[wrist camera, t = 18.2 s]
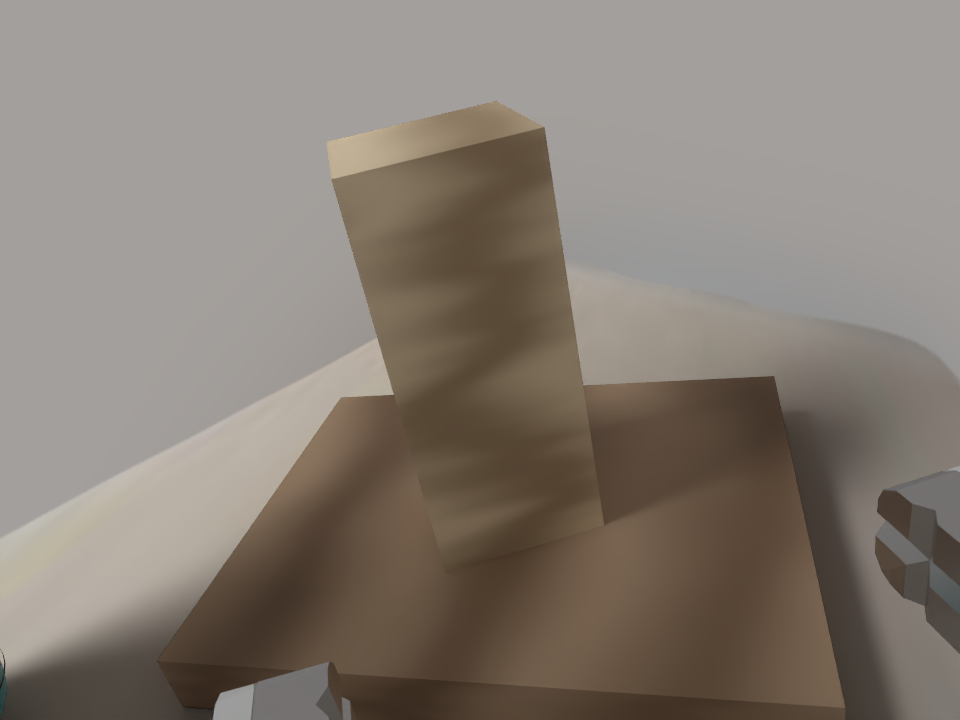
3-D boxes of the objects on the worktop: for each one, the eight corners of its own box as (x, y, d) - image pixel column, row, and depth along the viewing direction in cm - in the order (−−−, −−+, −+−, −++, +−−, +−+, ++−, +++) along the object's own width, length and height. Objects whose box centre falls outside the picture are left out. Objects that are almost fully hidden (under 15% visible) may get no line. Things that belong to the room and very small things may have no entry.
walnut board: (182, 706, 22) (156, 661, 21) (353, 434, 34) (341, 397, 33) (842, 764, 17) (845, 707, 16) (774, 420, 29) (774, 376, 28)
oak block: (445, 573, 22) (331, 179, 17) (422, 478, 27) (326, 141, 21) (604, 525, 23) (544, 126, 17) (555, 439, 27) (496, 101, 22)
